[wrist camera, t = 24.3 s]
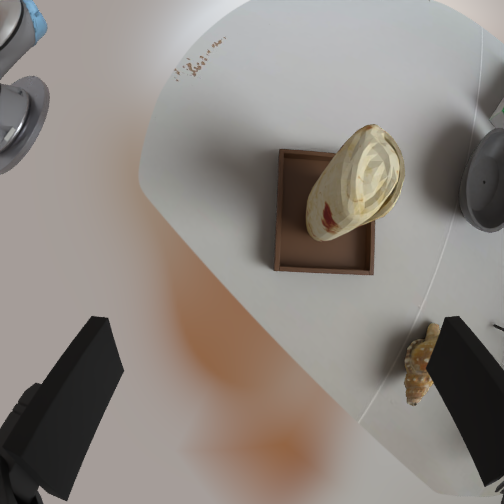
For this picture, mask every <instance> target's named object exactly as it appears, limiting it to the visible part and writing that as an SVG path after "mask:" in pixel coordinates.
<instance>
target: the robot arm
mask: <svg viewBox="0 0 504 504" xmlns="http://www.w3.org/2000/svg"><path fill="white" fill-rule="evenodd" d="M46 31H47V24H46V21H45V19H44V18H43V16H42V14H41V13H40V12H39V10H38V8H37V6H36V5H35V3H34V2H33V0H0V79H1V78H2V77H3V76H4V75H5V74H6V73H7V72H8V70H9V69H10V68H11V67H12V66H13V65H14V64H15V63H16V62H17V61H18V60H19V59H20V58H21V57H22V56H23V55H24V54H25V53H26V52H27V51H28V50H29V49H30V48H31V47H33V46H34V45H36V43H37V41H38V40H39V39H40V38H42V36H44V35H45V33H46ZM30 107H31V98H30V95H29V93H28V92H26V91H25V90H24V89H22V88H20V87H15V86H10V85H4V84H1V83H0V154H1V153H2V152H4V151H5V150H7V149H8V148H9V147H10V146H11V145H12V144H13V142H14V141H15V140H16V139H17V137H18V136H19V134H20V132H21V131H22V129H23V127H24V125H25V123H26V121H27V118H28V115H29V112H30ZM425 369H426V370H427V372H428V374H429V376H430V377H431V379H432V381H433V383H434V384H435V386H436V388H437V390H438V392H439V393H440V395H441V397H442V399H443V401H444V403H445V405H446V406H447V408H448V410H449V412H450V414H451V416H452V418H453V420H454V422H455V424H456V426H457V428H458V430H459V432H460V434H461V436H462V438H463V440H464V442H465V444H466V446H467V448H468V450H469V452H470V455H471V457H472V459H473V461H474V463H475V466H476V468H477V470H478V472H479V475H480V477H481V479H482V482H483V484H484V486H485V487H486V486H488V485H490V484H492V483H493V482H495V481H497V480H499V479H500V478H501V477H503V476H504V370H503V369H502V368H501V366H500V365H499V364H498V362H497V361H496V360H495V359H494V357H493V356H492V355H491V354H490V352H489V351H488V350H487V349H486V347H485V346H484V345H483V344H482V342H481V341H480V340H479V339H478V338H477V336H476V335H475V334H474V333H473V332H472V331H471V329H470V328H469V327H468V326H467V325H466V324H465V322H464V321H463V320H462V319H461V318H460V317H459V316H453V317H445V319H444V322H443V325H442V328H441V331H440V333H439V336H438V339H437V341H436V344H435V347H434V349H433V352H432V354H431V357H430V359H429V361H428V364H427V366H426V368H425ZM123 372H124V369H123V366H122V363H121V360H120V357H119V354H118V350H117V347H116V344H115V340H114V337H113V334H112V330H111V327H110V323H109V319H108V318H105V317H95V316H91V318H90V319H89V320H88V321H87V323H86V324H85V325H84V327H83V328H82V329H81V331H80V332H79V333H78V335H77V336H76V337H75V339H74V340H73V341H72V342H71V344H70V345H69V347H68V348H67V349H66V351H65V352H64V353H63V355H62V356H61V357H60V359H59V360H58V362H57V363H56V364H55V366H54V367H53V369H52V370H51V371H50V373H49V374H48V376H47V377H46V379H45V380H44V381H43V383H42V384H39V383H35V384H34V385H32V386H31V387H30V388H28V389H27V390H26V391H25V392H24V393H23V395H22V396H21V398H20V399H19V401H18V404H16V405H15V407H14V408H13V412H11V413H10V414H9V416H8V417H7V419H6V420H5V422H4V423H3V425H2V427H1V428H0V504H43V502H42V498H41V496H40V494H39V492H38V491H37V490H38V487H39V485H40V486H41V487H42V488H43V489H44V490H45V491H46V492H48V493H49V494H51V495H53V496H56V497H58V498H60V499H63V500H65V501H67V500H68V497H69V494H70V492H71V490H72V487H73V484H74V482H75V479H76V477H77V474H78V472H79V469H80V467H81V465H82V462H83V460H84V457H85V455H86V453H87V450H88V448H89V446H90V443H91V441H92V439H93V437H94V434H95V432H96V430H97V427H98V425H99V423H100V421H101V419H102V417H103V414H104V412H105V410H106V407H107V406H108V403H109V401H110V399H111V397H112V395H113V393H114V391H115V389H116V387H117V384H118V382H119V380H120V378H121V376H122V374H123ZM503 487H504V481H503V482H502V483H501V484H500V485H499V486H498V487H497V488H496V491H495V492H498V491H499V490H500V489H502V488H503ZM500 493H502V494H503V498H502V501H501V504H504V489H503V490H502V491H501V492H500Z"/></svg>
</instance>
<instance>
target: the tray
mask: <svg viewBox="0 0 504 504" xmlns="http://www.w3.org/2000/svg"><path fill="white" fill-rule="evenodd" d="M489 120H490V121H491V123H492V124H493V125H494V126H495V128H504V98H503V99H502V101H501V102H500V104H499V105H498V107H497V108H496V110H495V111H494V113H493V115H492V116H491V117H490V119H489Z"/></svg>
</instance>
